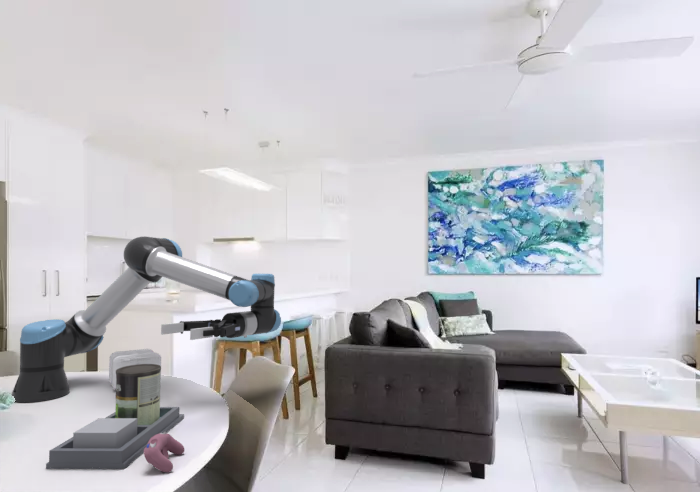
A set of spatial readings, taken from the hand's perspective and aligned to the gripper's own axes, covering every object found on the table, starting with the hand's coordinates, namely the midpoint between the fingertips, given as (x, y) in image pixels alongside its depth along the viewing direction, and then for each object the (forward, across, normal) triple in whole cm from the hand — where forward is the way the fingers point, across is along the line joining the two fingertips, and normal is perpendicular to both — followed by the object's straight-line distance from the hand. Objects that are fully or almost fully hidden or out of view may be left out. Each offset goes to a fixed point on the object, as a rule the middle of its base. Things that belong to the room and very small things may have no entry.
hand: (175, 332), depth 119 cm
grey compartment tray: (+15, -4, -23) cm, 28 cm away
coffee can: (+10, 0, -22) cm, 24 cm away
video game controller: (+16, -23, -23) cm, 36 cm away
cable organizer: (-12, +42, -24) cm, 50 cm away
